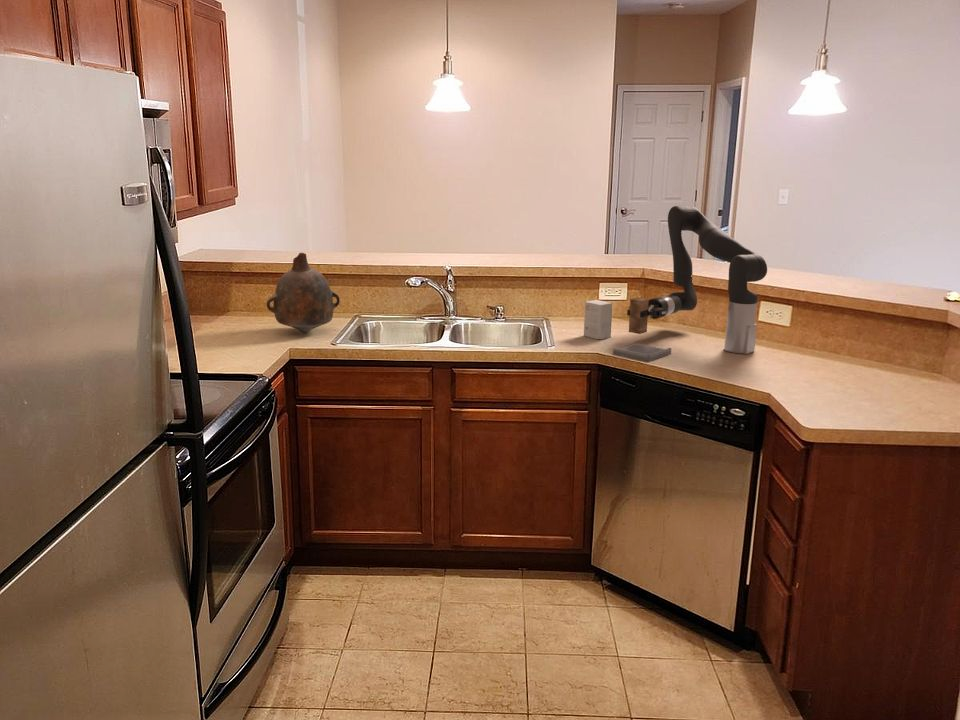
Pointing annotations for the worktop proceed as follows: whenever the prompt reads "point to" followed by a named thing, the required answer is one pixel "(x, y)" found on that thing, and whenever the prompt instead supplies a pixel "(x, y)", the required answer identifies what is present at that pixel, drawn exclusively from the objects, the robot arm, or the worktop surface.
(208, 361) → the worktop surface
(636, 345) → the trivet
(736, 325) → the robot arm
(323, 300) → the jug
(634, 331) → the walnut block
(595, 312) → the small box
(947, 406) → the worktop surface
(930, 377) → the worktop surface
